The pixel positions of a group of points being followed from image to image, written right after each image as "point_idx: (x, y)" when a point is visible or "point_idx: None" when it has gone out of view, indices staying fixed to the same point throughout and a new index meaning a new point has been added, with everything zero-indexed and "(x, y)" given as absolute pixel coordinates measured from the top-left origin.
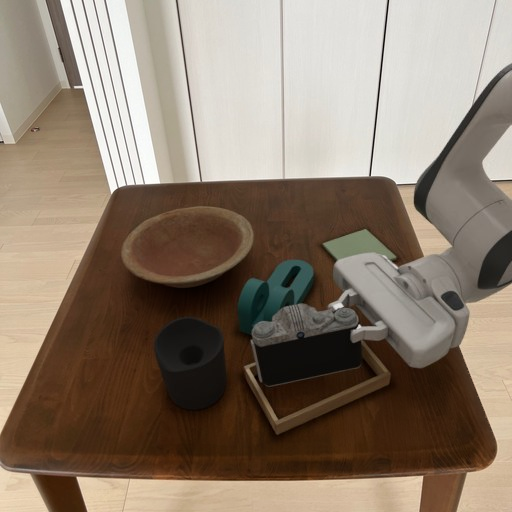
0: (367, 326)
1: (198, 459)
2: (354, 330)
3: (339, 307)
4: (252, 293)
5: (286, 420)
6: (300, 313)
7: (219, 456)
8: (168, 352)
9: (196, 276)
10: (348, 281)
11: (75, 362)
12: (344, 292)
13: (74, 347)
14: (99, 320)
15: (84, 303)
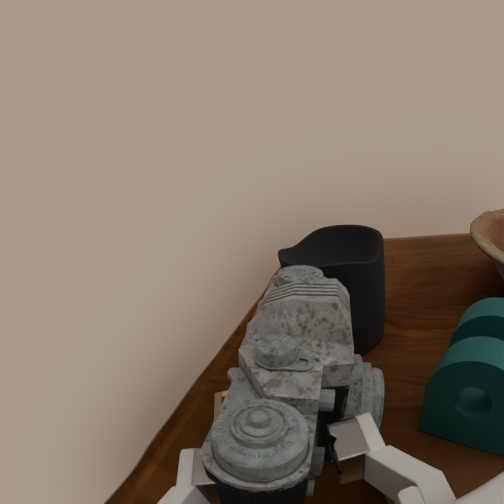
0: (181, 500)
1: (237, 339)
2: (193, 455)
3: (338, 442)
4: (479, 312)
5: (214, 406)
6: (289, 296)
7: (230, 355)
8: (336, 250)
9: (492, 248)
10: (494, 477)
11: (389, 252)
12: (428, 468)
13: (407, 248)
14: (445, 252)
15: (465, 240)
